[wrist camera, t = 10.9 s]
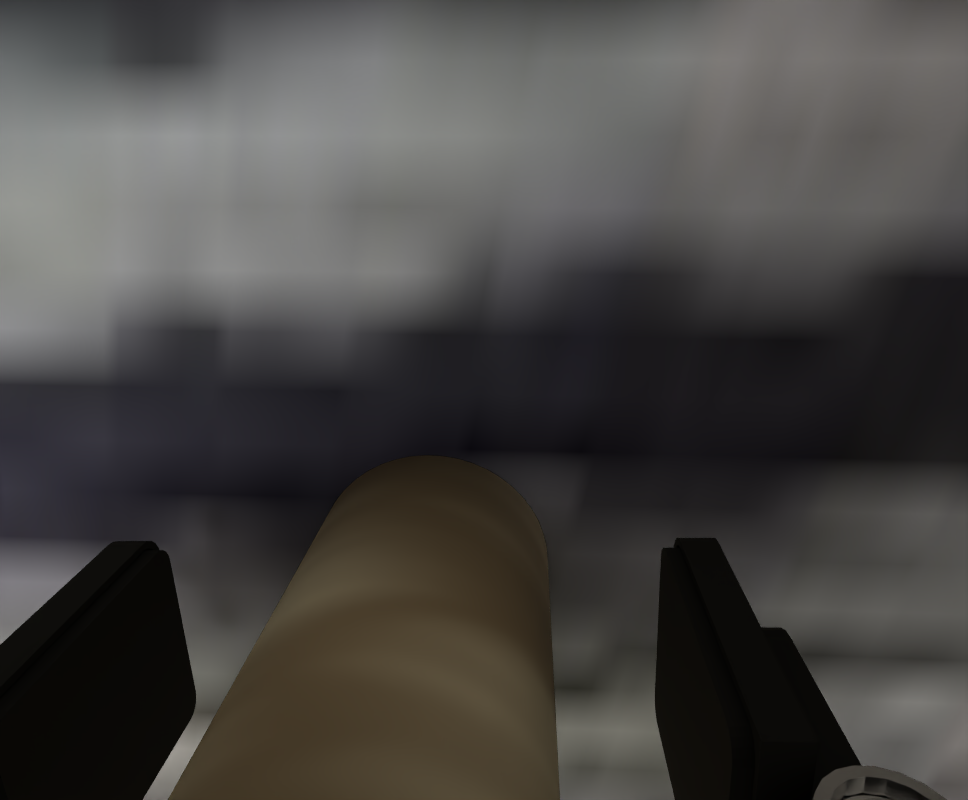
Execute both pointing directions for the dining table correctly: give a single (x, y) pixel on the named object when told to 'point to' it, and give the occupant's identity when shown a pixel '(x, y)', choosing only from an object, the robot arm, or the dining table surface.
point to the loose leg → (399, 654)
